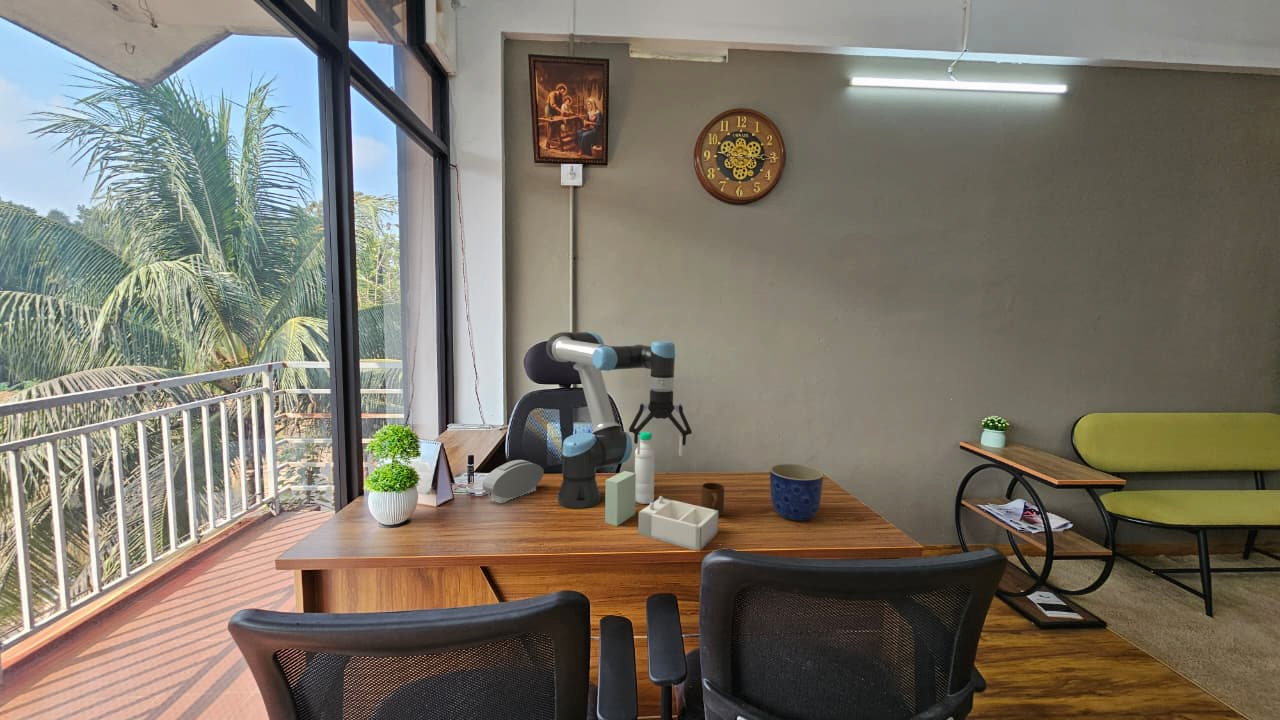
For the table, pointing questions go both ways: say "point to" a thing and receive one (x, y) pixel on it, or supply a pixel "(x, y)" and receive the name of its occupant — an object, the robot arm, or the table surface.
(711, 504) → the mug
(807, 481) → the planter
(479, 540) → the table surface
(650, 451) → the water bottle
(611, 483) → the pale green block
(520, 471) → the grey rounded oblong block
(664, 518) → the desk organizer
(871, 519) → the table surface
